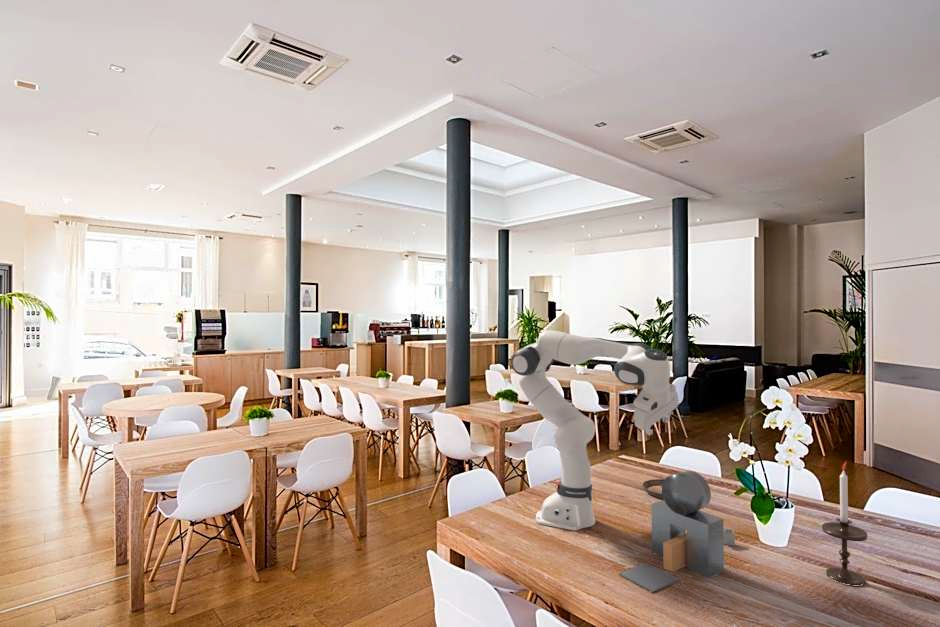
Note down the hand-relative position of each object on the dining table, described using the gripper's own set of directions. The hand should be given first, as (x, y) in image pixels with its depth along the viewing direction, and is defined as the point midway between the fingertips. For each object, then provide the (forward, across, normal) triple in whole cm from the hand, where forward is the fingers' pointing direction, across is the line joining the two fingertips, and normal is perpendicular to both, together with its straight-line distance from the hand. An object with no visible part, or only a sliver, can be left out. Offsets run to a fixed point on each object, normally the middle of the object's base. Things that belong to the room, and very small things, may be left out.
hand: (657, 427), depth 179 cm
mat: (+23, +37, +23) cm, 49 cm away
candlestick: (+32, -9, +57) cm, 66 cm away
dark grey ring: (+56, -25, -15) cm, 64 cm away
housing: (+29, +20, +24) cm, 42 cm away
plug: (+28, +23, +24) cm, 43 cm away
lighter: (+37, -1, +24) cm, 44 cm away
